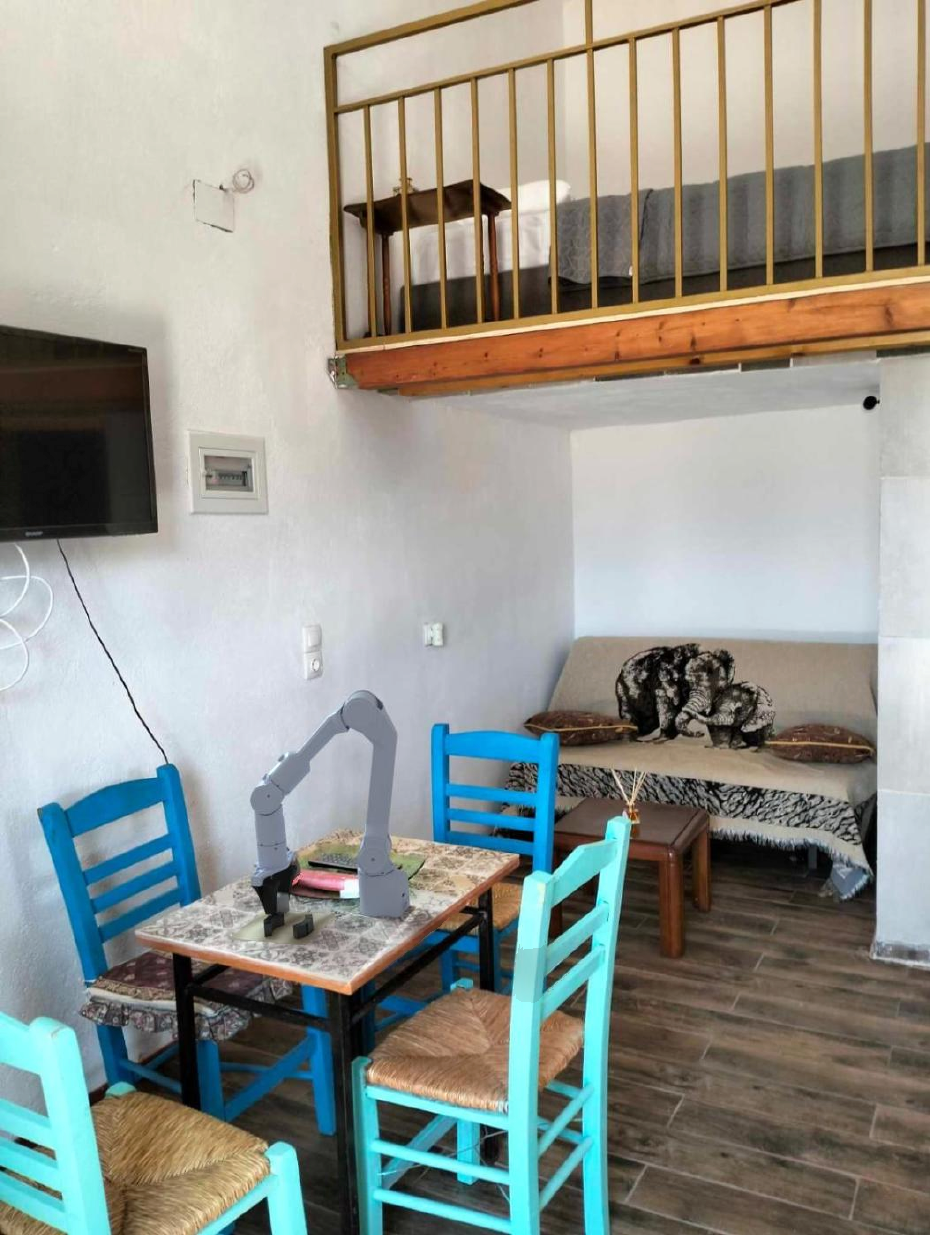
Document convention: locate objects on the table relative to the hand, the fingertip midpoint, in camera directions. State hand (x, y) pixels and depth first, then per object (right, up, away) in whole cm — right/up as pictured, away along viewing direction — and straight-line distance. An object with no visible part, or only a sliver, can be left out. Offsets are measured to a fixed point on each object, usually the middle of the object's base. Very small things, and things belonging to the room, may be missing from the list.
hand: (277, 908), depth 196 cm
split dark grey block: (+4, -2, -8) cm, 9 cm away
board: (+2, -3, -5) cm, 6 cm away
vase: (-2, -1, +18) cm, 18 cm away
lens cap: (0, -1, 0) cm, 1 cm away
